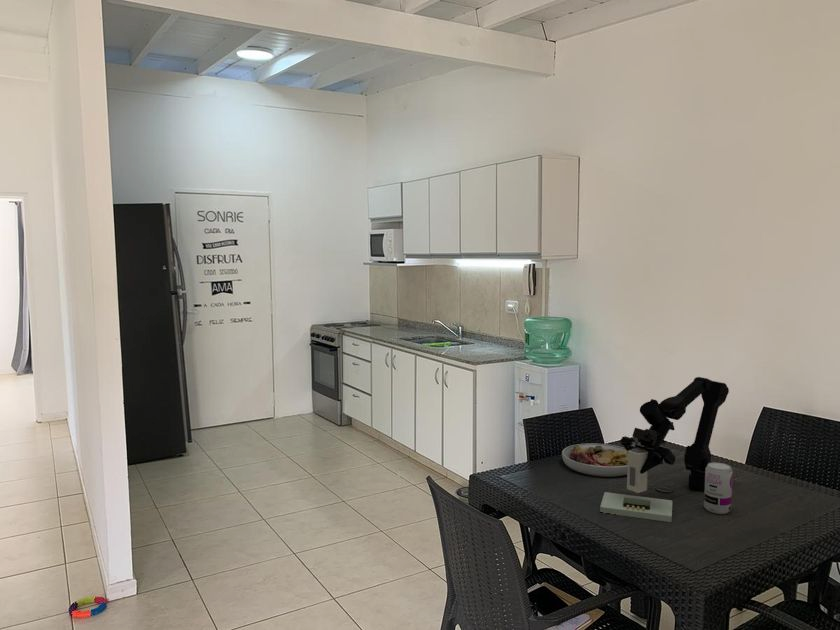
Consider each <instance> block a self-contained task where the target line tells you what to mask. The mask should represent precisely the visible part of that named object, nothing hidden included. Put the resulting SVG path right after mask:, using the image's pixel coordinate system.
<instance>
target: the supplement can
mask: <svg viewBox="0 0 840 630" xmlns="http://www.w3.org/2000/svg"><path fill="white" fill-rule="evenodd" d="M733 475H734V473H733V469H732V467H731V465H730V464H727V463H722V462H712V463H709V464H708V465H707V467H706V468H705V492H704V491H703V493H704V495H703V497H704V498H703V499H704V500H703V507H704V509H705V510H706V511H708V512H710V513H712V514H713V513H714V514H718V515H724V514H726V515H727V514H728V513H730V512H731V510H732V498H733V497H732V495H733Z"/></svg>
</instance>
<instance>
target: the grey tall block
mask: <svg viewBox="0 0 840 630" xmlns="http://www.w3.org/2000/svg"><path fill="white" fill-rule="evenodd" d="M647 458H648V452H647V451H645V450H644V449H640V448H634V449H631V450H629V451H628V469H627V475H626V476H627V477H626V479H627V480H626V489H627V490H629V491H631V492H634V493H637V494H640V493H642V492H646V491H648V471H649V470H648V471H646V472H645V473H643V474H641V473H640V471H641V468H642V466H643V465H644V463H645V461H646V459H647Z"/></svg>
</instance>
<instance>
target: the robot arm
mask: <svg viewBox="0 0 840 630" xmlns="http://www.w3.org/2000/svg"><path fill="white" fill-rule="evenodd" d="M729 393H730V388H729V387H728V386H727V383H725V382H721V381H720V382H719V381H715V380H712V379H710V378H706V377H702V376H697V377H695V378H694V379H693V381H692V382H690V383H689V384H688V385H687V386H686V387H684V389H683V388H682V390H681V391H680V392H678V393H677V394H676V395H674V396H670V397H667V398H665V399H663V400H662V401H660V403H659V401H658V400H657V399H653V398H651V399H650V401H646V402H645V403H643V404H642V405H641V406H640V407H639V413H640V414H641V415H642V416H643V418H644V420H645V421H646V422H647V424H649V425H650V427H649V428H645V429H641V428H638V427H634V430H633V433H632V436H631V437H629V436H626V435H625V436H622V437H621V439H620V440H619V443H620V444H621V446H622V447H623V448H625V449H626V450H627V451H629V450H631V449H634V448H640V449H644V450H645V451H647V452H648V458H647V459H646V461H645V463H644V465H643V466H642V468H641V471H640V473H641V474H643V473H645V472H646V471H649V470H651V469H653V468H655V467H656V466H659V465H663V464H664V463H665V464H667V465H671V466H673V465H674V464H675V462H676V456H675V455H674V454H673V452H672V450H671V449H670V448H667V447H664V446H661V445H665V444H666V440H665V438H666V437H667V435H668V433H669V431H675V426H674V422H673V421H671V419H672V420H675V421H678V420H680V419H682V417H683V416H684V415H685V414H686V411H687V407H688V406H689V405H690V404H691V403H693V402H694V401H695V400H696V399H697V398H698V397H700V396H701V399H702V401H703V406H702V410H701V413H700V419H699V421H698V427H697V429H696V434H695V437H694V441H693V443H692V444H691V445H687V446H686V448H685V453H684V455H683V462H684V466H685V470H686V471H690V473H688V484H687V485H688V487H689V490H690V491H695V492H703V493H704V492H705V468H706V467H707V465H708V464H709V463H713V462H712V452H711V450H710V444H711V443H710V442H711V438H712V434H713V430H714V427H715V422H716V419H717V415H718V412H719V408H720V407H721V406H722V405H723V404H724V403H725V402H726V400H727V397H728V394H729ZM634 438H636V439H637V441H636V440H635V439H634ZM637 442H638V443H637ZM663 461H664V462H663Z"/></svg>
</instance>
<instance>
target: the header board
mask: <svg viewBox="0 0 840 630" xmlns="http://www.w3.org/2000/svg"><path fill="white" fill-rule="evenodd" d="M601 499H602V500H601V503H600V506H599V508H600V509H599V513H600V512H603V513H602V514H606V513H610V514H609V515H614V514H616V515H615V516H621V517H622V516H623V517H630V518H639V519H644V520H652V521H658V522H665V523H666V522H667V523H672V520H673V519H672V518H673V516H672V515H673V500H670V499H662V498H657V497H655V498H654V497H647V496H638V495H632V494H631V495H630V494H624V493H623V494H621V493H615V492H607V491H604V494H603V496H602V498H601ZM627 503H628V504H627ZM625 504H626V506H624V505H625ZM635 504H636V505H637V506H636V507H635ZM630 505H631V507H630ZM643 505H645V506H643ZM640 506H642V507H641V508H640ZM646 507H649V509H646Z"/></svg>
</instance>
